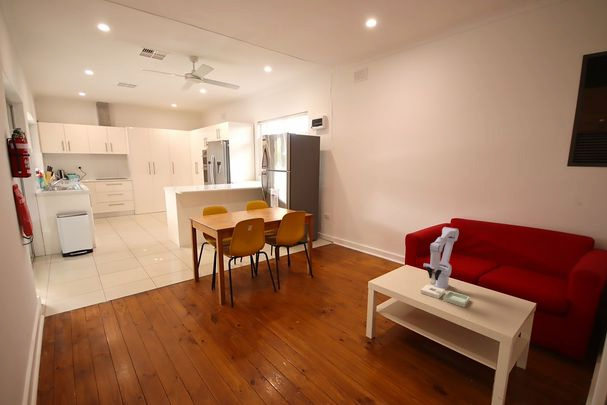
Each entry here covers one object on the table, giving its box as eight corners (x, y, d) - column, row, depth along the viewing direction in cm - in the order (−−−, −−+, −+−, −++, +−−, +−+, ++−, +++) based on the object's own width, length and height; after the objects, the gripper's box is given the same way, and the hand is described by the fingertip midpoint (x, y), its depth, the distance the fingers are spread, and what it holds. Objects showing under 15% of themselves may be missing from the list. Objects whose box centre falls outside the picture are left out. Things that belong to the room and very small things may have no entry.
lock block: (426, 287, 200) (427, 284, 199) (444, 292, 191) (444, 289, 191) (420, 292, 191) (420, 289, 191) (438, 298, 183) (438, 295, 182)
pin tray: (448, 294, 190) (449, 290, 189) (469, 300, 181) (469, 296, 181) (442, 300, 181) (443, 296, 180) (464, 307, 172) (464, 303, 172)
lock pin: (431, 281, 193) (432, 270, 192) (437, 283, 190) (438, 271, 189) (429, 283, 190) (430, 271, 189) (435, 285, 187) (436, 273, 186)
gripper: (422, 259, 190) (420, 277, 192) (444, 264, 180) (442, 284, 182) (425, 256, 195) (424, 274, 197) (448, 261, 185) (446, 280, 187)
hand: (433, 279), depth 190 cm, fingers closed on lock pin, 4 cm apart
